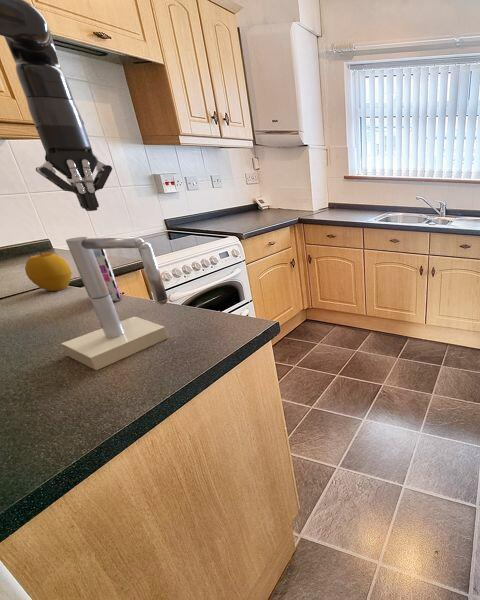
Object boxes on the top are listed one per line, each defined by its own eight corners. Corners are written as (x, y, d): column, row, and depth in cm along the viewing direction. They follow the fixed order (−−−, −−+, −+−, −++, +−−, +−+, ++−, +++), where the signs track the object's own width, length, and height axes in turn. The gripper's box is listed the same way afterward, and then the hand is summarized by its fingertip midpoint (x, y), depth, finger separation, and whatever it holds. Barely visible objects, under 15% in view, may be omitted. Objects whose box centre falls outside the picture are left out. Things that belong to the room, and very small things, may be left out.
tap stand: (96, 370, 66) (71, 315, 61) (66, 355, 71) (41, 303, 66) (168, 338, 77) (152, 289, 72) (138, 327, 82) (122, 281, 77)
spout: (89, 309, 68) (60, 240, 63) (101, 302, 71) (75, 237, 66) (164, 307, 69) (142, 239, 63) (172, 300, 72) (152, 235, 66)
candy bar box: (122, 300, 97) (101, 244, 90) (100, 305, 94) (77, 248, 87) (120, 289, 105) (101, 237, 98) (99, 293, 102) (78, 240, 95)
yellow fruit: (48, 285, 108) (31, 250, 104) (84, 282, 111) (69, 247, 106) (27, 296, 100) (8, 258, 95) (67, 292, 103) (51, 255, 98)
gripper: (89, 127, 76) (116, 205, 83) (7, 123, 65) (45, 213, 72) (106, 125, 73) (132, 207, 80) (23, 121, 62) (61, 216, 69)
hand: (91, 210), depth 76 cm, fingers closed
